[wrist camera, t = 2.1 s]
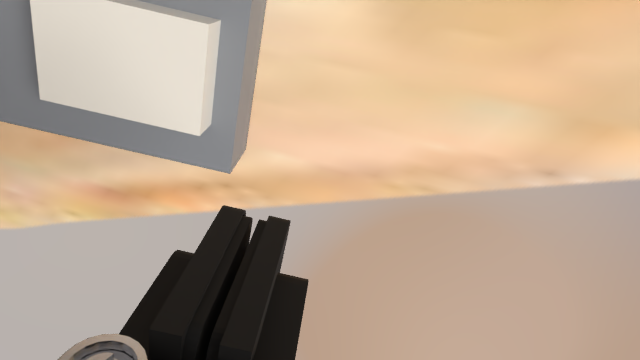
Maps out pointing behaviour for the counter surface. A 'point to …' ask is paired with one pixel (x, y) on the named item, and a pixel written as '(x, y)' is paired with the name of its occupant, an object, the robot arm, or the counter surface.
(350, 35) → the counter surface
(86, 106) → the tile
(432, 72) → the counter surface
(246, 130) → the grey block
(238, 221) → the robot arm
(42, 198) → the counter surface
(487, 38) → the counter surface
